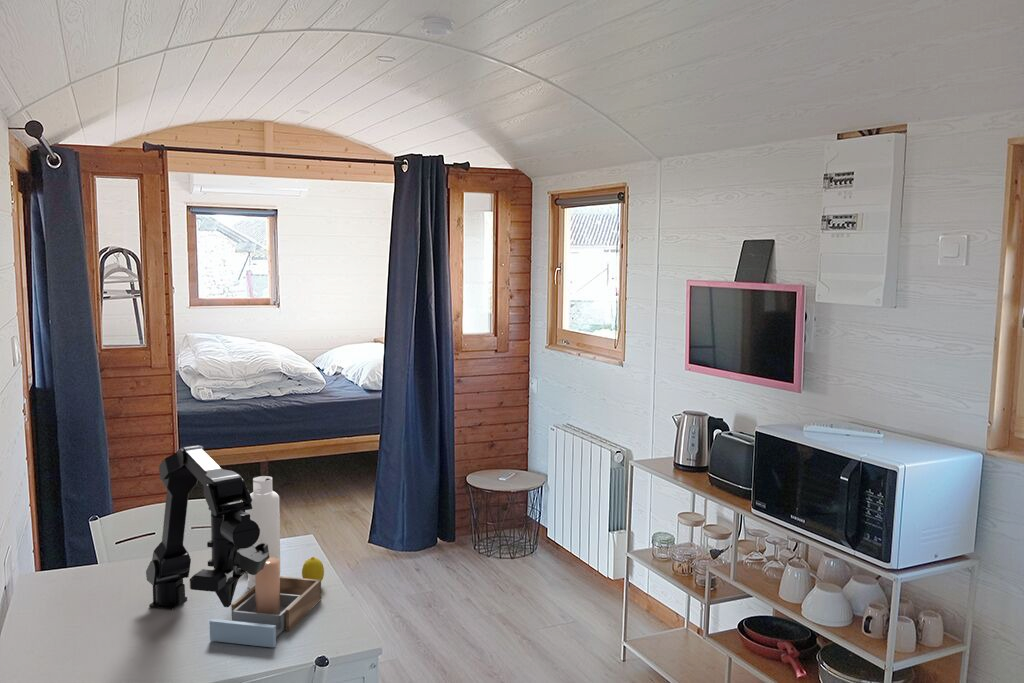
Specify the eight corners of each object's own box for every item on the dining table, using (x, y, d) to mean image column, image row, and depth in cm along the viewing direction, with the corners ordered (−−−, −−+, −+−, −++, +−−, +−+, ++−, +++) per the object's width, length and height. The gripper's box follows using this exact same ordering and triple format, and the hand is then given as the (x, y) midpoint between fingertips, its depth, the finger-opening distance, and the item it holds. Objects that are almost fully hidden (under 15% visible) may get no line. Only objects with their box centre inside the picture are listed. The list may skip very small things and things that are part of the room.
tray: (210, 640, 183) (209, 621, 182) (250, 606, 201) (250, 588, 200) (273, 647, 180) (273, 627, 180) (308, 612, 198) (308, 594, 197)
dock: (231, 625, 191) (231, 604, 190) (268, 594, 209) (267, 575, 208) (289, 631, 188) (288, 610, 188) (321, 599, 206) (320, 579, 205)
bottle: (287, 582, 216) (285, 477, 213) (262, 593, 209) (261, 484, 206) (266, 575, 220) (264, 472, 217) (241, 585, 214) (239, 479, 211)
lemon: (318, 592, 210) (318, 561, 209) (298, 590, 211) (297, 559, 210) (327, 584, 216) (327, 554, 215) (307, 581, 217) (307, 552, 216)
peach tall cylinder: (256, 622, 190) (255, 567, 188) (254, 612, 195) (254, 558, 193) (281, 618, 192) (280, 564, 190) (279, 608, 197) (278, 556, 195)
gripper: (239, 553, 163) (240, 630, 164) (282, 523, 181) (282, 592, 183) (187, 549, 165) (189, 624, 166) (234, 519, 183) (236, 587, 185)
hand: (227, 606), depth 175 cm, fingers closed
